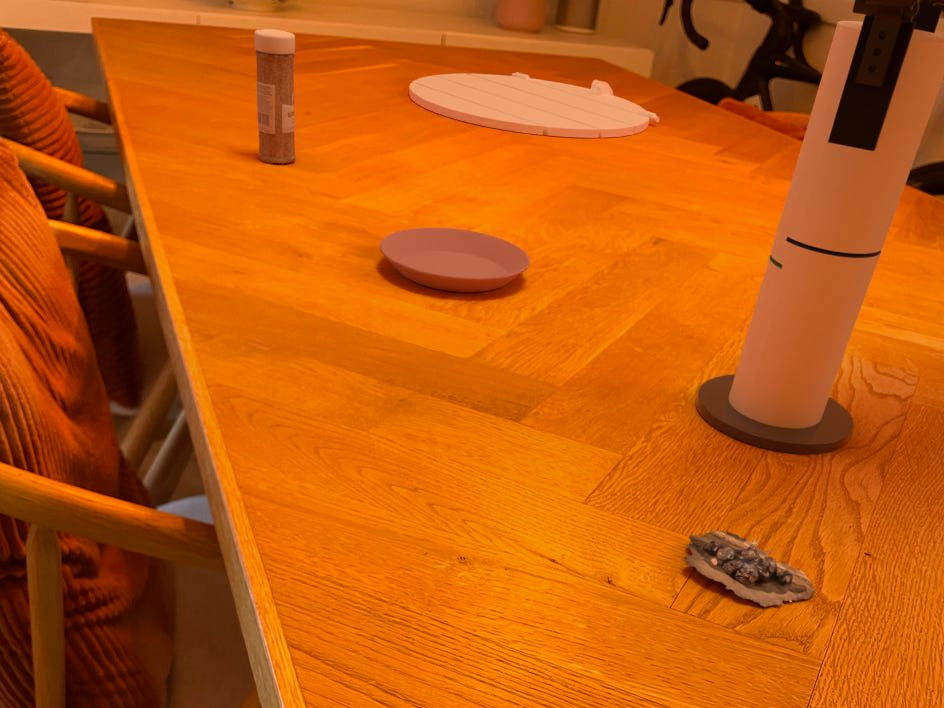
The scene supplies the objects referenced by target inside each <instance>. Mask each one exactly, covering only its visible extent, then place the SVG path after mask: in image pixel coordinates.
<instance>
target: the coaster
mask: <svg viewBox="0 0 944 708" xmlns="http://www.w3.org/2000/svg"><path fill="white" fill-rule="evenodd" d="M735 374H736V373H734V374H732V373H731V374H725V375H720V376H719V375H718V376H715V377H713V378H710V379H708V380H706V381H705V382H703V383H702V384H701V385H700V386H699V388H698V390H697V393H696V398H695V407H696V410H697V412H698V413H699V415H700V416H701V418H703V419H704V421H706V422H707V423H708V424H709V425H710V426H712V427H713V428H714V429H716V430H718V431H719V432H721V433H723V434H725V435H727V436H729V437H730V438H733V439H735V440H737V441H740V442H743V443H745V444H749V445H751V446H755V447H758V448H761V449H766V450H771V451H774V452H781V453H787V454H800V455H811V454H812V455H816V454H825V453H830V452H833V451H836V450H839V449H841V448H843V447H844V446H845V445H847V443H848V442H849V441H850V440H851V437H852V434H853V431H854V428H855V422H854V418H853V417H852V415H851V413H850V412H849V411H848V410H847V409H846V407H844V406H843V405H842V404H841V403H839V402H838V401H836V400H835V399H833V398H832V397H830V396H829V398H828V401H827V404H826V407H825V410H824V413H823V415H822V418H821V420H820V422H819V423H817V424H816V425H814V426H811V427H807V428H797V429H795V428H782V427H776V426H771V425H767V424H764V423H761V422H758V421H755V420H753V419H750V418H748V417H746V416H744V415H743V414H741V413H740V412H738V411H737V410H736V409H734V408H733V407H732V405H731V404H730V402H729V394H730V391H731V387H732V384H733V381H734V377H735Z"/></svg>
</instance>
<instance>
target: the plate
mask: <svg viewBox="0 0 944 708" xmlns="http://www.w3.org/2000/svg"><path fill="white" fill-rule="evenodd" d="M379 249H380V252H381V254H382V255H383V256H384V257H385V258H386V259H387V260H388V262H389V263H390V264H391V265H392V266H393V267H394V268H395V269H396V271H397V272H398V273H399V274H400V275H402V276H403V277H404V278H405V279H407V278H408V279H407V280H409V279H410V280H409V281H411V280H412V281H411V282H413V281H414V282H413V283H415V282H417V283H416V284H418V283H420V284H422V285H421V286H423V285H425V286H424V287H427V286H429V287H428V288H430V287H433V288H432V289H434V288H436V290H439V289H440V291H445V290H447V291H446V292H453V291H456V292H455V293H482V292H483V293H484V292H491V291H494V290H497V289H500V288H502V287H504V286H506V285H507V284H509V283H510V282H512V281H513V280H514V279H516V278H517V277H519V276H520V275H522V274H523V273H524V272H525V271H526V270H527V269H528V268H529V267H530V264H531V259H530V256H529V255H528V254H527V252H525V250H523V248H521V247H519V246H518V245H516V244H514V243H513V242H510V241H508V240H505V239H503V238H499V237H498V236H494V235H490V234H486V233H483V232H478V231H473V230H468V229H467V230H466V229H460V228H449V227H417V228H416V227H415V228H408V229H403V230H399V231H396V232H393V233H390V234H388V235H387V236H385V237H384V238H383V239H382V240H381V241H380V243H379ZM420 284H419V285H420Z"/></svg>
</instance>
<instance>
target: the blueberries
mask: <svg viewBox="0 0 944 708" xmlns="http://www.w3.org/2000/svg"><path fill="white" fill-rule="evenodd" d="M688 539H690V542H689V543H686V547H687V548H686V549H687V550H690V553H691V555H687V556H685V558H682V561H684V562H687V563H685V565H686V566H687V567H688V568H689V567H694V568H695V569H696V571H697V572H699V573H700V574H701V575H702V576H704V577H706V578H707V579H710V580H713V581H715V582H719V583H722V584H723V585H724V586H725V587H724V588H725V589H726V590H732V591H733V593H734V595H736V596H737V597H739V598H742V600H745V599H746V600H751V601H752V602H754V603H758V604H759V606H761V607H763V608H766V607H769V608H770V607H771V606H781V605H784V602H789V603H793V601H800V600H808V599H810V598H812V597H814V596H815V591H817V589H815V588H813V587H812V586H813V581H812V580H810V579H809V578H808V577H807V574H805V573H804V572H803V570H801V569H799V570H798V569H796V567H795V566H794V567H792V566H789V565H788V564H787V563H786V562H785V561H781V562H779V561H776V559H775V558H773V557H772V556H768V555H769V554H772V553H775V551H774V550H771V551H770V550H766V551H764V550H765V549H763V548H762V549H761V548H760V547H758V546H759V541H758V540H757V539H754V540H751V542H750V541H749V540H747V538H743V537H741V536H739V535H738V534H736V533H732V532H730V531H729V530H726V531H723V530H713V531H710V532H705V533H704V534H702V533H699V535H698V534H691V535H690V534H689V535H688ZM783 601H784V602H783Z"/></svg>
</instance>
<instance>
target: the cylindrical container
mask: <svg viewBox="0 0 944 708" xmlns="http://www.w3.org/2000/svg"><path fill="white" fill-rule="evenodd" d="M862 25H863V21H860V20H840V21H837V23H836V28H835V30H834V34H833V37H832V41H831V44H830V48H829V51H828V54H827V58H826V62H825V65H824V69H823V72H822V76H821V79H820V82H819V85H818V89H817V92H816V96H815V99H814V103H813V107H812V108H811V109H812V110H811V113H810V116H809V120H808V122H807V123H808V124H807V126H806V130H805V133H804V137H803V140H802V144H801V147H800V150H799V153H798V157H797V161H796V164H795V167H794V171H793V174H792V178H791V180H790V181H791V182H790V185H789V189H788V192H787V195H786V199H785V202H784V205H783V209H782V213H781V216H780V219H779V221H778V222H779V223H778V226H777V229H776V231H775V232H776V233H775V237H774V238H773V243H772V247H771V250H770V254H769V257H768V260H767V264H766V268H765V271H764V274H763V277H762V281H761V285H760V288H759V292H758V294H757V295H758V296H757V298H756V301H755V305H754V309H753V311H752V316H751V318H750V319H751V320H750V323H749V326H748V330H747V333H746V336H745V339H744V343H743V346H742V350H741V354H740V357H739V360H738V363H737V367H736V370H735V373H734V374H735V377H734V381H733V384H732V387H731V391H730V394H729V402H730V404H731V405H732V407H733V408H734V409H736V410H737V411H738V412H740V413H741V414H743V415H744V416H746V417H748V418H750V419H753V420H755V421H758V422H761V423H764V424H767V425H771V426H776V427H782V428H795V429H797V428H807V427H811V426H814V425H816V424H817V423H819V422H820V420H821V418H822V415H823V413H824V410H825V407H826V404H827V401H828V398H829V397H830V395H831V393H832V390H833V388H834V385H835V381H836V379H837V376H838V373H839V370H840V368H841V365H842V362H843V359H844V356H845V353H846V350H847V347H848V345H849V342H850V339H851V336H852V333H853V332H854V328H855V325H856V322H857V320H858V317H859V314H860V312H861V309H862V306H863V303H864V301H865V299H866V294H867V292H868V290H869V287H870V284H871V281H872V279H873V276H874V273H875V270H876V269H877V265H878V262H879V259H880V257H881V254H882V250H883V248H884V245H885V242H886V241H887V237H888V234H889V231H890V229H891V226H892V223H893V220H894V218H895V215H896V212H897V209H898V206H899V203H900V200H901V198H902V195H903V192H904V189H905V186H906V184H907V181H908V178H909V175H910V172H911V169H912V167H913V164H914V161H915V159H916V156H917V153H918V150H919V147H920V145H921V142H922V139H923V136H924V134H925V131H926V128H927V126H928V122H929V119H930V117H931V114H932V112H933V109H934V106H935V103H936V100H937V98H938V95H939V92H940V89H941V87H942V84H943V81H944V35H943V34H939V33H936V32H935V33H931V32H927V31H922V30H917V29H914V31H913V34H912V37H911V40H910V44H909V47H908V50H907V53H906V56H905V59H904V62H903V65H902V68H901V71H900V74H899V77H898V81H897V84H896V87H895V90H894V93H893V96H892V99H891V102H890V105H889V108H888V111H887V115H886V118H885V121H884V124H883V127H882V130H881V133H880V136H879V139H878V142H877V145H876V148H875V150H874V151H869V150H864V149H859V148H854V147H849V146H844V145H839V144H834V143H829V142H828V140H829V136H830V133H831V130H832V126H833V123H834V120H835V116H836V113H837V109H838V106H839V103H840V99H841V96H842V92H843V89H844V86H845V82H846V79H847V75H848V72H849V69H850V65H851V62H852V59H853V55H854V52H855V48H856V45H857V42H858V38H859V35H860V31H861V28H862Z"/></svg>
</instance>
